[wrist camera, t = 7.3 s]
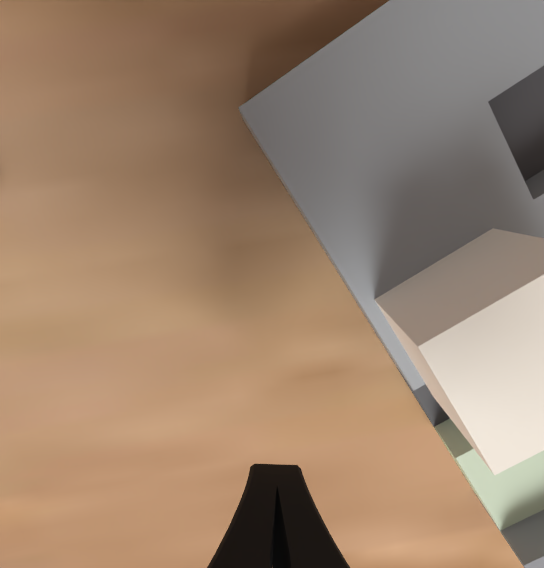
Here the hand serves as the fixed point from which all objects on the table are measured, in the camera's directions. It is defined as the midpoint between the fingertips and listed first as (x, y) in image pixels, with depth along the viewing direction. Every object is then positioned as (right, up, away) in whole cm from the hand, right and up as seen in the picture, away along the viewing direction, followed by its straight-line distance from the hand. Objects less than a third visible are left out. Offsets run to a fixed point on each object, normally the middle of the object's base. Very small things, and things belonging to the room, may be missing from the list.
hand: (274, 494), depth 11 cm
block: (+7, +5, +3) cm, 9 cm away
